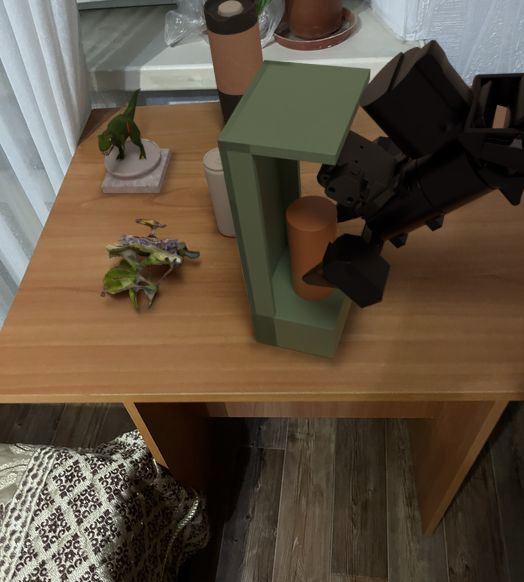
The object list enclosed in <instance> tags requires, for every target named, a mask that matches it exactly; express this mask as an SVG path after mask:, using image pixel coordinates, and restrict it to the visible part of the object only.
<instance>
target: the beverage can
mask: <svg viewBox="0 0 524 582" xmlns="http://www.w3.org/2000/svg"><path fill="white" fill-rule="evenodd" d="M202 159H203V161H202V162H203V172H204V176H205V180H206V183H207V184H206V185H207V188H208V192H209V196H210V199H211V203H212V208H213V213H214V217H215V221H216V225H217V229H218V231H219V233H220V234H222V235H224V236H225V237H228V238H236V235H235V230H234V225H233V220H232V215H231V210H230V205H229V199H228V194H227V189H226V184H225V179H224V174H223V169H222V164H221V159H220V153H219V148H218V147H214V148H212V149H210V150H208V151H207V152H206V153H205V155H204V156H203V158H202Z"/></svg>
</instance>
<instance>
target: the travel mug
mask: <svg viewBox="0 0 524 582" xmlns="http://www.w3.org/2000/svg"><path fill="white" fill-rule="evenodd" d="M257 3H258V2H257V0H205V2H204V3H203V14H204V15H203V16H204V21H205V26H206V32H207V39H208V43H209V44H208V45H209V50H210V56H211V63H212V69H213V73H214V79H215V86H216V91H217V96H218V99H219V104H220V110H221V114H222V119H223V123H224V126H225V125H226V123H227V122H228V120H229V118H230V117H231V115H232V113H233V112H234V110H235V108H236V107H237V105H238V103H239V102H240V100H241V98H242V97H243V95H244V93H245V91H246V90H247V88H248V86H249V85H250V83H251V81H252V80H253V78H254V76H255V75H256V73H257V71H258V70H259V68H260V66H261V64H262V63H263V61H264V57H263V55H264V54H263V46H262V40H261V31H260V30H261V29H260V21H259V12H258V4H257Z"/></svg>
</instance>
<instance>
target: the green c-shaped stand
mask: <svg viewBox="0 0 524 582" xmlns="http://www.w3.org/2000/svg"><path fill="white" fill-rule="evenodd" d="M370 82H371V68H365V67H353V66H351V67H350V66H341V65H329V64H319V63H318V64H317V63H308V62H307V63H306V62H305V63H304V62H295V61H294V62H293V61H283V60H272V59H271V60H270V59H263V63H262V64H261V66H260V68H259V70H258V71H257V73H256V75H255V76H254V78H253V80H252V81H251V83H250V85H249V86H248V88H247V90H246V91H245V93H244V95H243V97H242V98H241V100H240V102H239V103H238V105H237V107H236V108H235V110H234V112H233V113H232V115H231V117H230V118H229V120H228V122H227V123H226V125H225V124H224V126H223V128H222V131H220V134H219V135H218V137H217V138H216V142H217V148H219V153H220V159H221V164H222V169H223V174H224V179H225V184H226V189H227V194H228V199H229V205H230V210H231V215H232V220H233V225H234V230H235V235H236V237H235V240H236V245H237V250H238V251H237V252H238V255H239V260H240V266H241V271H242V275H243V280H244V286H245V291H246V295H247V301H248V302H247V303H248V307H249V312H250V316H251V321H252V326H253V332H254V337H255V341H256V343H260V344H265V345H269V346H274V347H278V348H281V349H285V350H286V349H287V350H292V351H296V352H300V353H304V354H308V355H313V356H316V357H317V356H318V357H322V358H326V359H331V360H334V359H335V356H336V353H337V350H338V347H339V344H340V341H341V338H342V335H343V332H344V328H345V325H346V322H347V319H348V316H349V313H350V310H351V306H352V303H353V301H352V300H351V299H350V298H349V297H348V296H347V295H345V294H344V293H343V292H342V291H341V290H340V289H336V288H335V290H334V291H333V292H332V293H331V294H330V295H329V296H328V297H326V298H324V299H320V300H307V299H304V298H301V297H300V296H298V295H297V294H296V293H295V292H294V290H293V287H292V278H291V267H290V255H289V244H288V233H287V221H286V211H287V209H288V207H289V205H290V204H291V203H292V202H294V201H295V200H297V199H299V198H301V197H303V196H302V182H301V181H302V180H301V164H300V163H301V162H307V163H315V164H321V165H322V164H329V165H336V162H337V160H338V157H339V155H340V152H341V150H342V147H343V145H344V143H345V140H346V138H347V135H348V133H349V130H351V127H352V126H353V122H354V120H355V117H356V115H357V113H358V110H359V108H360V105H359V101H360V98H361V95H362V94H363V92H364V90H365V89H366V87H367V86H368V84H369V83H370Z"/></svg>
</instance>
